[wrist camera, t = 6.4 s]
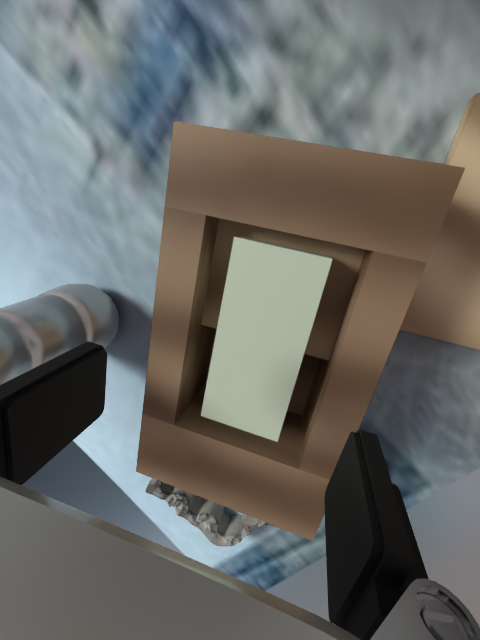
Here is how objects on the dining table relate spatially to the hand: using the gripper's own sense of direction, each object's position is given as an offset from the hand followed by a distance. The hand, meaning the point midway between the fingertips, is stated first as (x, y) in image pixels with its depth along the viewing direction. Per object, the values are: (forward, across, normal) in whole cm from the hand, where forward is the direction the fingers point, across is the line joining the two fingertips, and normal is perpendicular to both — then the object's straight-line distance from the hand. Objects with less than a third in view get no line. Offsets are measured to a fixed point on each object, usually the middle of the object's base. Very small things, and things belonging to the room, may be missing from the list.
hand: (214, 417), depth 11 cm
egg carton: (+14, +1, +18) cm, 23 cm away
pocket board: (+14, 0, +1) cm, 14 cm away
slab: (+10, 0, 0) cm, 10 cm away
